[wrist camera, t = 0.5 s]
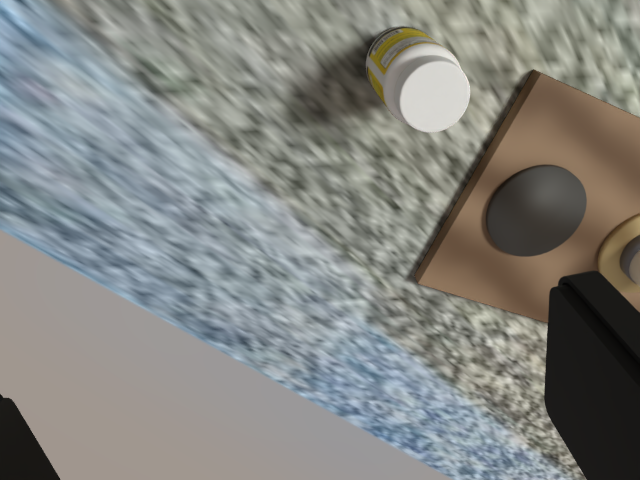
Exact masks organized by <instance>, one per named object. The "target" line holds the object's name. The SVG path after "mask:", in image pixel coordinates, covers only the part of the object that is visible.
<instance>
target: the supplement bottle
mask: <svg viewBox="0 0 640 480" xmlns="http://www.w3.org/2000/svg"><path fill="white" fill-rule="evenodd" d="M366 73H367V77H368V80H369V82H370V84H371V86H372V87H373V89H374V90H375V91H376V93H377V94H378V95H379V97H380V98H381V100H382V101H383V103H384V104H385V105H386V107H387V108H388V110H389V111H390V112H391V114H392V115H393V116H394V117H395V118H397V119H398V120H400V121H401V122H403V123H406V124H409V125H410V126H411V127H413V128H414V129H416V130H419V131H422V132H438V131H442V130H444V129H447V128H449V127H450V126H452V125H453V124H455V123H456V122H457V121H458V120H459V119H460V118H461V116H462V115H463V114H464V112H465V110H466V108H467V106H468V103H469V98H470V85H469V82H468V79H467V77H466V75H465V74H464V72H463V71H462V70H461V67H460V64H459V62H458V61H457V59H456V58H455V56H454V55H453V54H452V53H451V52H450V51H449V50H447V49H446V48H444V47H443V46H442V45H440V44H439V43H437V42H436V41H435V40H433V39H432V38H430V37H429V36H427V35H426V34H424V33H423V32H421V31H420V30H418V29H416V28H413V27H407V26H400V27H395V28H392V29H389V30H387V31H385V32H384V33H382V34H381V35H380V36H379V37H378V38H377V39H376V40H375V41H374V42H373V44H372V45H371V47H370V49H369V52H368V55H367V59H366Z"/></svg>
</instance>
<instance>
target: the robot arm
mask: <svg viewBox="0 0 640 480" xmlns="http://www.w3.org/2000/svg"><path fill="white" fill-rule="evenodd" d="M544 399H545V406H546V409H547V412H548V415H549V417H550V419H551V421H552V423H553V424H554V426H555V427H556V429H557V431H558V432H559V434H560V436H561V437H562V439H563V441H564V442H565V444H566V446H567V447H568V449H569V451H570V452H571V454H572V456H573V457H574V459H575V461H576V462H577V464H578V466H579V467H580V469H581V470H582V472H583V474H584V475H585V477H586V479H587V480H640V312H639V311H638V310H637V309H636V308H635V307H634V306H633V305H632V304H631V303H630V302H629V301H628V300H627V299H626V298H625V297H624V296H623V295H622V294H621V293H620V292H619V291H618V290H617V289H616V288H615V287H614V286H613V285H612V284H611V283H610V282H609V281H608V280H607V279H606V278H605V277H604V276H603V275H602V274H601V273H599V272H598V271H594V270H593V271H588V272H583V273H578V274H573V275H568V276H563V277H561V278H560V280H559V282H558V286H556V287H553V288H551V290H550V294H549V312H548V332H547V353H546V374H545V395H544ZM0 480H60V478H59V476H58V475H57V473H56V472H55V470H54V468H53V466H52V465H51V463H50V461H49V460H48V458H47V456H46V455H45V453H44V451H43V450H42V448H41V447H40V445H39V443H38V441H37V440H36V438H35V436H34V435H33V433H32V431H31V430H30V428H29V426H28V425H27V423H26V421H25V420H24V418H23V417H22V415H21V413H20V411H19V410H18V408H17V406H16V405H15V403H14V402H13V401H12V400H11V399H10V398H3V397H2V395H1V394H0Z"/></svg>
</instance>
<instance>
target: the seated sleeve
mask: <svg viewBox="0 0 640 480" xmlns="http://www.w3.org/2000/svg"><path fill="white" fill-rule="evenodd" d="M620 268H621V270H622V272H623V273H624V274H625V275H626V276H627V277H628V278H629V279H630V280H631V281H632V282H634V283H635V284H637V285H638V286H639V287H640V235H638V236H636V237H635V238H634V239H632V240H631V241H630V242H629V243H628V244H627V245H626V247H625V248H624V250H623V251H622V253H621V256H620Z"/></svg>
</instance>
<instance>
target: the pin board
mask: <svg viewBox="0 0 640 480" xmlns="http://www.w3.org/2000/svg"><path fill="white" fill-rule="evenodd" d="M638 235H640V118H639V117H637V116H635V115H633V114H631V113H628V112H626V111H624V110H622V109H620V108H617V107H615V106H613V105H611V104H609V103H606V102H604V101H602V100H600V99H598V98H595V97H593V96H591V95H589V94H587V93H584V92H582V91H580V90H578V89H576V88H573V87H571V86H569V85H567V84H565V83H562V82H560V81H558V80H556V79H554V78H551V77H549V76H547V75H545V74H543V73H540V72H538V71H536V70H534V69H533V71H532V73H531V75H530V76H529V78H528V80H527V82H526V83H525V85H524V87H523V88H522V90H521V92H520V94H519V95H518V97H517V99H516V101H515V102H514V104H513V106H512V107H511V109H510V111H509V113H508V114H507V116H506V118H505V120H504V121H503V123H502V125H501V126H500V128H499V130H498V132H497V133H496V135H495V137H494V139H493V140H492V142H491V144H490V145H489V147H488V149H487V151H486V152H485V154H484V156H483V158H482V159H481V161H480V163H479V164H478V166H477V168H476V170H475V171H474V173H473V175H472V177H471V178H470V180H469V182H468V183H467V185H466V187H465V189H464V190H463V192H462V194H461V196H460V197H459V199H458V201H457V202H456V204H455V206H454V208H453V209H452V211H451V213H450V215H449V216H448V218H447V220H446V221H445V223H444V225H443V227H442V228H441V230H440V232H439V234H438V235H437V237H436V239H435V240H434V242H433V244H432V246H431V247H430V249H429V251H428V253H427V254H426V256H425V258H424V259H423V261H422V263H421V265H420V266H419V268H418V270H417V272H416V273H415V275H414V276H415V278H416V280H417V282H418V284H421V285H424V286H428V287H431V288H434V289H437V290H441V291H444V292H447V293H451V294H454V295H457V296H461V297H464V298H467V299H470V300H474V301H477V302H480V303H484V304H487V305H490V306H494V307H497V308H500V309H504V310H507V311H510V312H513V313H517V314H520V315H523V316H527V317H530V318H533V319H537V320H540V321H543V322H546V323H548V312H549V294H550V290H551V288H553V287H556V286H558V282H559V280H560V278H561V277H563V276H568V275H573V274H578V273H583V272H588V271H593V270H594V271H598V272H599V273H601V274H602V275H603V276H604V277H605V278H606V279H607V280H608V281H609V282H610V283H611V284H612V285H613V286H614V287H615V288H616V289H617V290H618V291H619V292H620V293H621V294H622V295H623V296H624V297H625V298H626V299H627V300H628V301H629V302H630V303H631V304H632V305H633V306H634V307H635V308H636V309H637V310H638V311H639V312H640V287H639V286H638V285H637V284H635V283H634V282H632V281H631V280H630V279H629V278H628V277H627V276H626V275H625V274H624V273H623V272H622V270H621V268H620V256H621V253H622V251H623V250H624V248H625V247H626V245H627V244H628V243H629V242H630V241H631V240H632V239H634V238H635V237H636V236H638Z"/></svg>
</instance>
